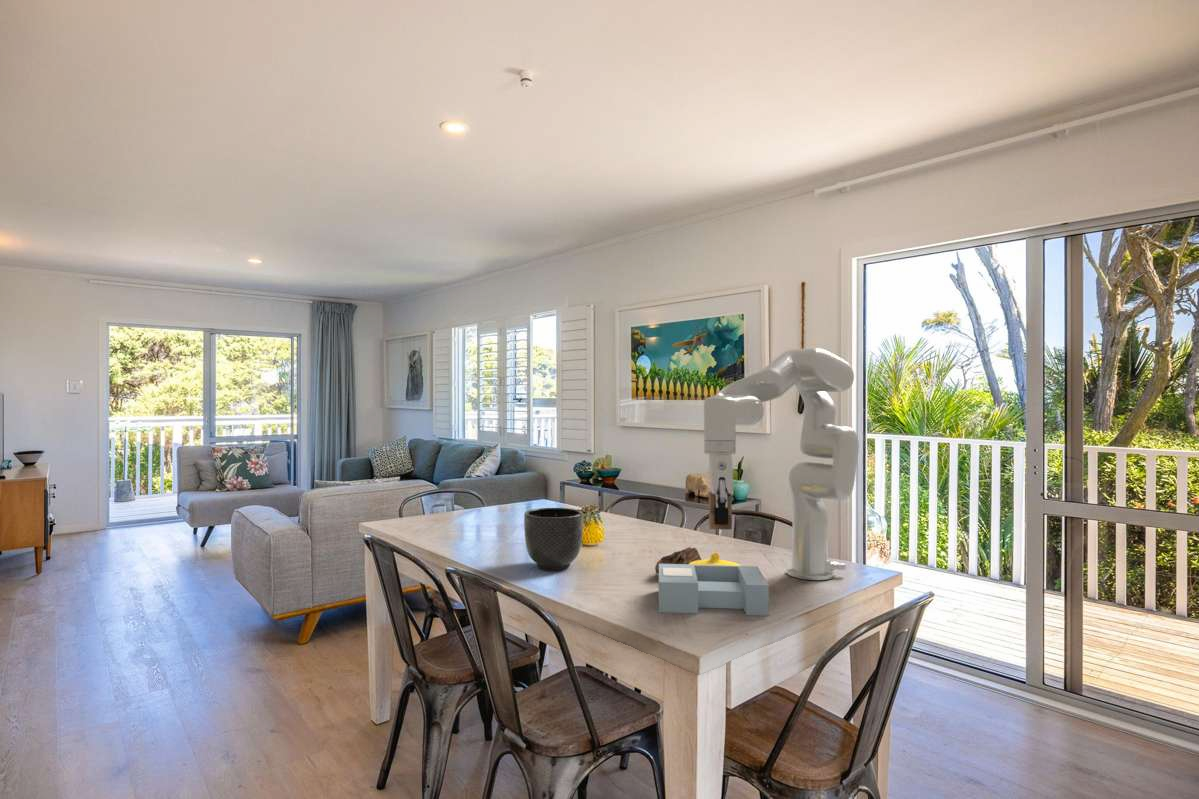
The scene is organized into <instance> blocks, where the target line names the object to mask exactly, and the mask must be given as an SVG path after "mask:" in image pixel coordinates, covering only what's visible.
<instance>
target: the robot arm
mask: <svg viewBox="0 0 1199 799" xmlns="http://www.w3.org/2000/svg"><path fill="white" fill-rule="evenodd" d="M854 379H855V374H854V370H853V367H852V366H851V364H850V363H849V362H847V361H846V360H844V359H843V358H841V357H840V356H838V355H836V354H834V353H832V352H830V351H827V350H825V349H823V348H818V347H812V348H795V349H789V350H786V351H784V352H782V353H781V354H780V355H778V356H777V357H776V358H775V359H773V361H771V362H770V363H768V364H767V365H766V366H764V367H763V368H762V369H761V370H760V371H758V372H755V373H752V374H750V375H748V376H745V377H744V378H741V379H738V380H736V381H733V382H731V383H729V384H727V385H725V387H723V388H722V389H721V390H719V391H718V392H717V393H716V394H715V395H714V396H709V397H706V398H705V400H704V402H703V430H704V431H703V434H704V435H703V436H704V437H703V439H704V441H703V443H704V445H703V448H704V449H703V451H704V452H703V453H704V454H706V455H708V459H709V460H708V466H709V467H708V474H709V488H710V493H713V494H714V495H715V503H716V508H714V523H715V524H716V525H727V524H728V504H727V493H729V494H730V496H733V495H734V476H733V475H734V470H733V457H732V455H735V454H737V452H736V451H737V450H736V445H737V444H736V441H737V440H736V432H737V431H736V426H749V427H750V426H753V425H756V424H758V423H759V422H760V421H761V420H762V419H763V417H764V415H765V414H764V413H765V407H764V404H763V403H765V402H769V401H773V400H776V399H779V398H781V397H782V396H783V395H785V393H787V392H788V391H789V390H790V389H791V388H792V387H793V386H795V388H796V389H797V390H798V392H799V394H800V396H801V398H802V401H803V406H804V414H803V419H802V420H803V421H802V428H801V435H800V444H799V448H800V452H801V453H802V454H803V456H805V457H808V458H813V459H819V460H829V461H830V460H831V461H832V464H830V463H829V464H828V463H822V462H813V461H812V462H810V461H806V462H805V461H804V462H799V463H796V464H794V465H793V467H792V468H791V469H790V471H789V475H788V481H789V488H790V494H791V501H792V503H791V504H792V535H791V536H792V537H791V538H792V544H791V545H792V546H791V547H792V550H791V551H792V552H791V553H792V554H791V555H792V556H791V558H792V559H791V563H792V564H791V565H790V566H788V567H787V568H786V574H787V575H788V576H789V577H792V578H797V579H800V580H805V581H806V580H807V581H828V580H830V579H833V578H834V570H838V571H846V570H847V569H846V568H847V565H846V563H845V562H838V561H831V560H830V559H829V554H828V552H829V546H828V545H829V513H828V508H827V507H826V506H827V505H826V504H825V502H824V501H823V499H826V500H834V501H844V500H847V499H848V498H849V497H850V496H851V494H852V493H853V490H854V486H855V481H856V474H857V466H858V459H859V449H860V443H859V442H860V441H859V436H858V434H857V433H856V431H855V430H854V429H853V428H852V427H849V426H846V425H845V426H844V425H835V423H836V415H837V414H836V413H837V409H836V406H835V403H834V401H833V399H832V398H831V396H830V395H829V394H828V392H829V393H832V392H833V393H839V392H846V391H847V390H849V389H850V388H852V385H853V383H854ZM717 493H720V495H717ZM718 498H719V499H718Z"/></svg>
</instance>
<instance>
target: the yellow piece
mask: <svg viewBox="0 0 1199 799" xmlns="http://www.w3.org/2000/svg"><path fill="white" fill-rule="evenodd" d="M689 564H692V565H730V566H742V565H741V564H739V563H737V562H735V561H729V560H725V559H720V553H718V552H713V553H711V555H710V558H708V559H702V560H697V561H693V562H690V563H689Z"/></svg>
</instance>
